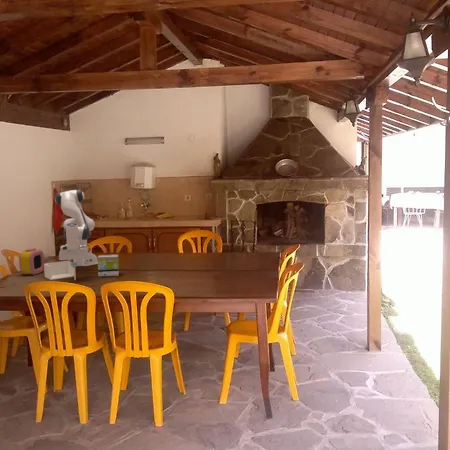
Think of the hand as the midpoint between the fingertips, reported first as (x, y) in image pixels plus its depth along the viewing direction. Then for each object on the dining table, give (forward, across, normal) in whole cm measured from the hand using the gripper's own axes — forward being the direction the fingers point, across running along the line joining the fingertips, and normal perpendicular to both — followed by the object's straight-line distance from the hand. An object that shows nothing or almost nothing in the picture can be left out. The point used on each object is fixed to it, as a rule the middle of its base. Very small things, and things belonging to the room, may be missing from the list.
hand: (74, 265), depth 354 cm
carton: (+11, +10, -18) cm, 24 cm away
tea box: (+11, -25, -8) cm, 28 cm away
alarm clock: (+11, +29, -41) cm, 51 cm away
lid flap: (+10, 0, -5) cm, 11 cm away
